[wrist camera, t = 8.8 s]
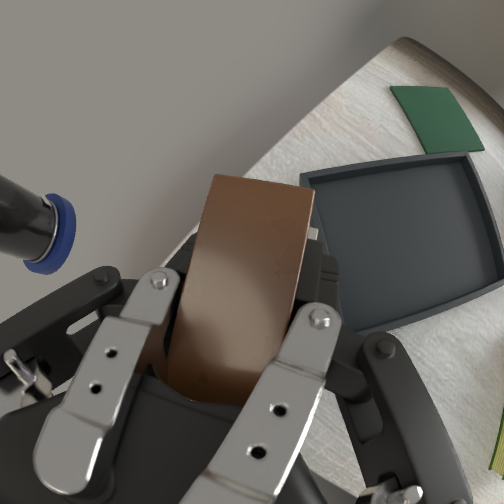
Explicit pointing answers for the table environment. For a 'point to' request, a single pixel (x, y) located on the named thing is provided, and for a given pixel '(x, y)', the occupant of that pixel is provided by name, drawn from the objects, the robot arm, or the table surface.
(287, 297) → the eraser
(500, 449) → the hardcover book
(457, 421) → the table surface
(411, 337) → the table surface
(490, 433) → the table surface
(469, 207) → the tray
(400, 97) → the mat
